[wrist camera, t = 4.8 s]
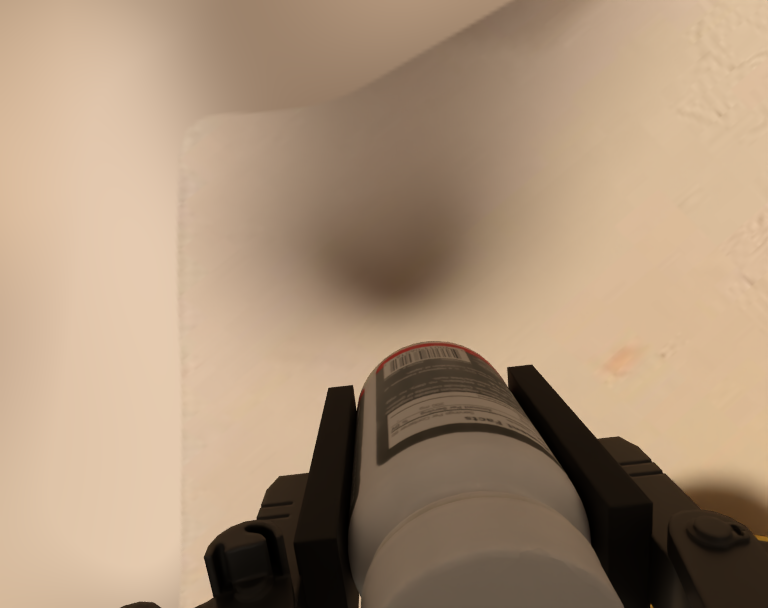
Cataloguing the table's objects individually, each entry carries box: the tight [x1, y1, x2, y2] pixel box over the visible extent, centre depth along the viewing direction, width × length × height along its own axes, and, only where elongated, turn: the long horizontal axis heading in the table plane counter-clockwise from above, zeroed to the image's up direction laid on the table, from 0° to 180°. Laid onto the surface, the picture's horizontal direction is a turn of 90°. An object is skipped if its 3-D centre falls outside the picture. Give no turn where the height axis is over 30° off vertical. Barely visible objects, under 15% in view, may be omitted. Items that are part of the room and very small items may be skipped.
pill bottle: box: [348, 341, 624, 608], centre depth 11 cm, size 5×5×8 cm
